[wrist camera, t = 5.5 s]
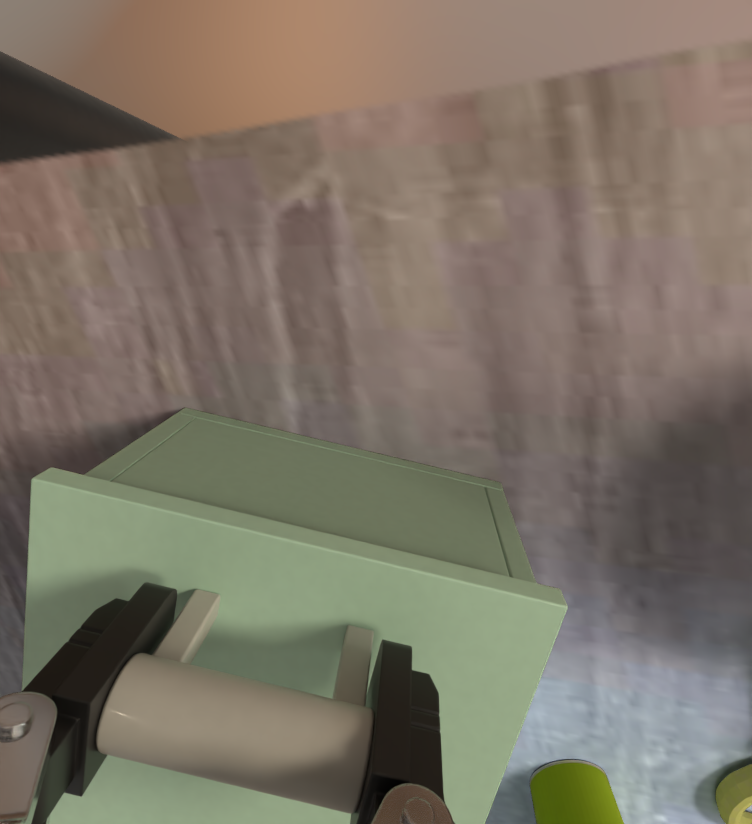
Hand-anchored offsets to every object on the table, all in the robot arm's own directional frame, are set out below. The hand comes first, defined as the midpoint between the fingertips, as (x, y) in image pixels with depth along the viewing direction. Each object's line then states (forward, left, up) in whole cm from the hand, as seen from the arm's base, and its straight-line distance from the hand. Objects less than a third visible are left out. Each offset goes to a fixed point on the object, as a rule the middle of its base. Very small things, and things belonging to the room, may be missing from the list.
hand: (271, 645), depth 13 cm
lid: (+6, 0, -2) cm, 6 cm away
